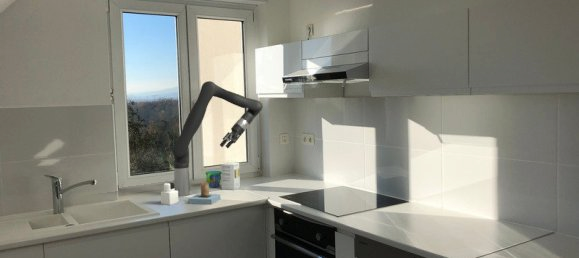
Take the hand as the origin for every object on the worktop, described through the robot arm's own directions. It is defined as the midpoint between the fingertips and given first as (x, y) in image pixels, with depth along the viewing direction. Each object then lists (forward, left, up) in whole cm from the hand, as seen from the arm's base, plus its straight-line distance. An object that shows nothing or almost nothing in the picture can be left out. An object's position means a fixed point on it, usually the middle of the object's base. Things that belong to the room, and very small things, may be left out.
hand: (223, 146), depth 300 cm
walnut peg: (-7, -15, -31) cm, 35 cm away
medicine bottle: (-26, -22, -31) cm, 46 cm away
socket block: (-7, -15, -31) cm, 35 cm away
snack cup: (-19, +29, -31) cm, 46 cm away
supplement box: (-5, +24, -31) cm, 39 cm away
